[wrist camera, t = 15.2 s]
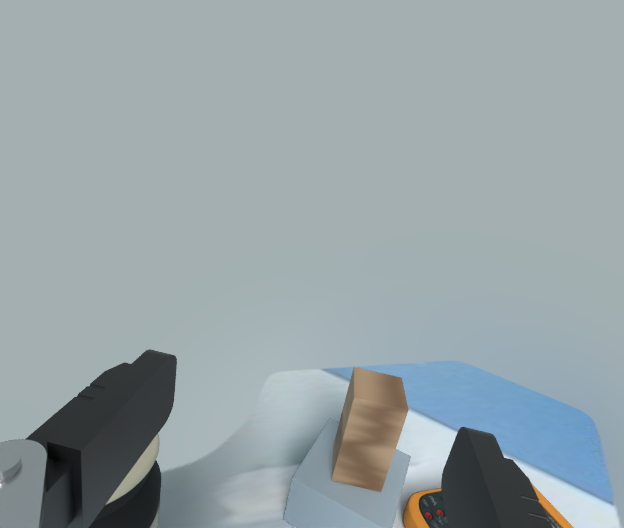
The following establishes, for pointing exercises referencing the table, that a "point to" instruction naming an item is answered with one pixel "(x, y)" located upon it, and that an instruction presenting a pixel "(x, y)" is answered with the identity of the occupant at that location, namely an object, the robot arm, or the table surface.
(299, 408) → the table surface
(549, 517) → the multimeter
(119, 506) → the travel mug
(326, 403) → the table surface
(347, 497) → the slate box
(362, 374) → the walnut block
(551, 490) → the table surface
